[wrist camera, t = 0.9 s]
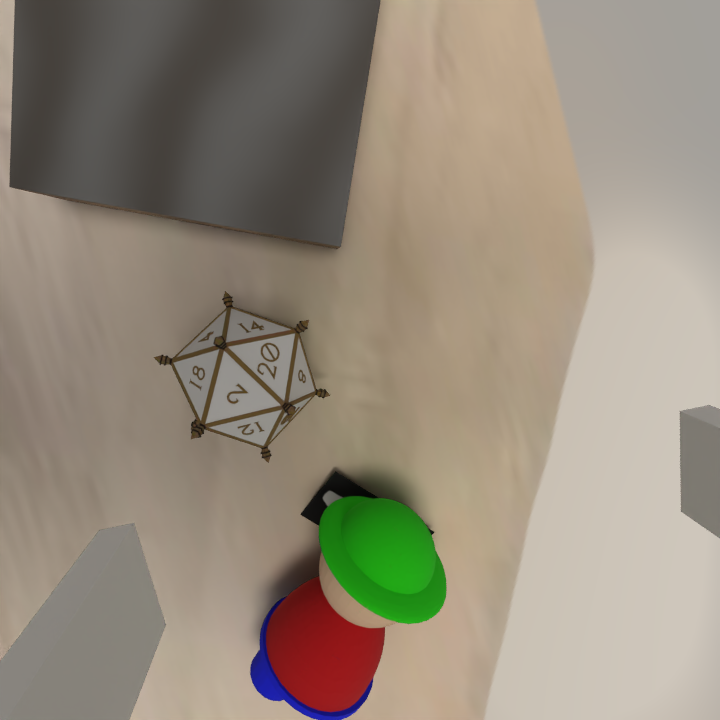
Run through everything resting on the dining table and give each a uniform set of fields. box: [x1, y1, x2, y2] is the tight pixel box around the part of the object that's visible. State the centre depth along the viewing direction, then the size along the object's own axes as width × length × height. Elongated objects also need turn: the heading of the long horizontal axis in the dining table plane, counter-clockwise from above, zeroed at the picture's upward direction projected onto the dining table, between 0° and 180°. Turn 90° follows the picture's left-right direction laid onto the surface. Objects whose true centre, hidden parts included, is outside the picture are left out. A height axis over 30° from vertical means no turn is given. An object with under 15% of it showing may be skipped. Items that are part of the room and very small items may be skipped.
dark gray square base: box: [10, 0, 380, 249], centre depth 25 cm, size 16×16×5 cm
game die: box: [154, 291, 330, 463], centre depth 27 cm, size 9×8×10 cm
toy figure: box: [250, 471, 446, 720], centre depth 31 cm, size 9×10×15 cm
